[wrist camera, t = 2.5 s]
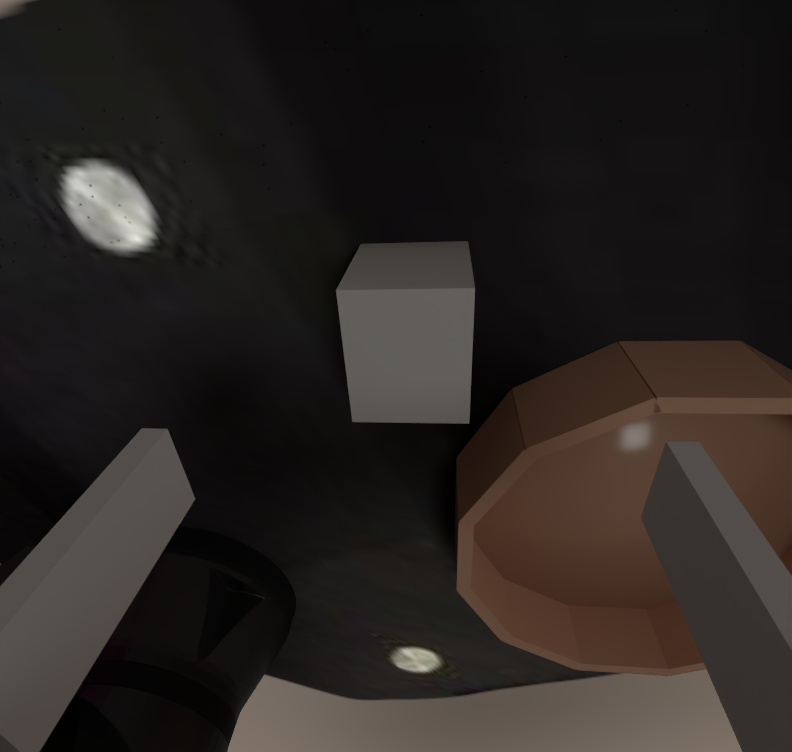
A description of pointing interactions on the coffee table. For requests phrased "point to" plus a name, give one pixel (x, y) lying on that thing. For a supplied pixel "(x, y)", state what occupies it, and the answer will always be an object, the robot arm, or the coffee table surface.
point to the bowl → (612, 496)
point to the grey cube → (408, 332)
